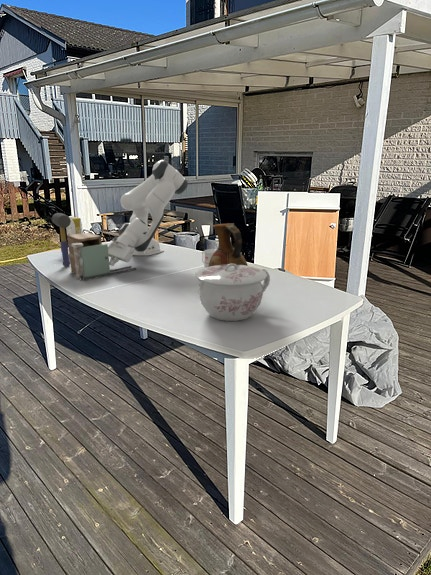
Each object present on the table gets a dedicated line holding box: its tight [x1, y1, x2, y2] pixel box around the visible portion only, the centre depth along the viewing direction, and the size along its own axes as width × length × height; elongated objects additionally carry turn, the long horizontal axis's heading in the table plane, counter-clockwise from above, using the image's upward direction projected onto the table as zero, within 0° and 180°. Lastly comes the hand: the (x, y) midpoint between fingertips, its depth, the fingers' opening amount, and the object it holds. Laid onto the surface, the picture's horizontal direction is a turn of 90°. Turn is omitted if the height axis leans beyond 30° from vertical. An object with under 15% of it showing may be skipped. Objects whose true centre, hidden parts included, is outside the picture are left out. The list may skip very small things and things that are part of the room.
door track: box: [80, 265, 137, 282], centre depth 213 cm, size 30×5×1 cm, turn 133°
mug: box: [201, 248, 218, 268], centre depth 218 cm, size 12×9×11 cm
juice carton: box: [65, 215, 84, 236], centre depth 256 cm, size 9×8×24 cm
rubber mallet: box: [51, 212, 71, 268], centre depth 223 cm, size 12×8×30 cm, turn 37°
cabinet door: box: [79, 243, 111, 279], centre depth 206 cm, size 15×4×16 cm, turn 133°
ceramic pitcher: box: [208, 222, 249, 267], centre depth 189 cm, size 20×20×30 cm
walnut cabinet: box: [66, 232, 103, 282], centre depth 210 cm, size 16×18×20 cm
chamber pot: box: [194, 263, 271, 322], centre depth 154 cm, size 28×28×21 cm
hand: (110, 264), depth 212 cm, fingers closed
